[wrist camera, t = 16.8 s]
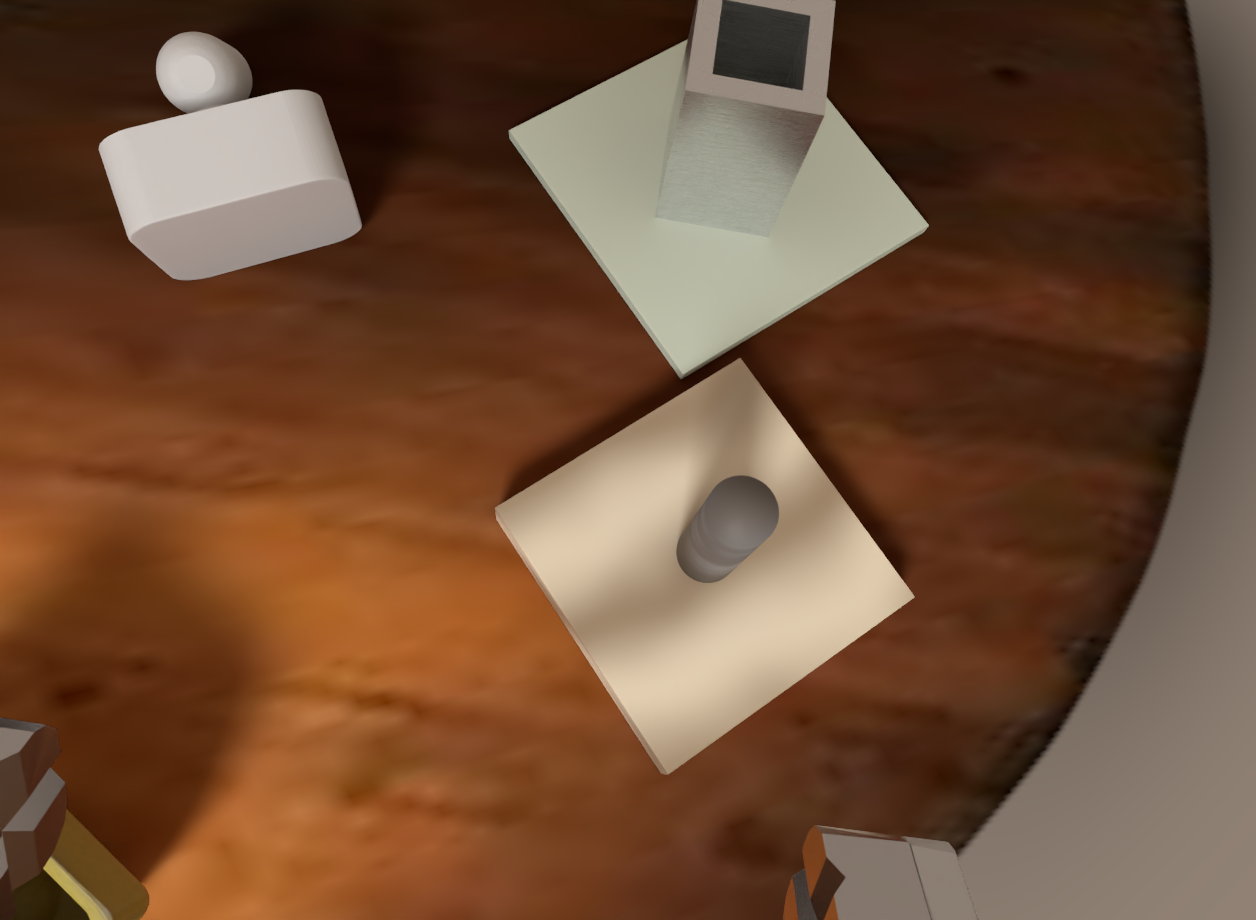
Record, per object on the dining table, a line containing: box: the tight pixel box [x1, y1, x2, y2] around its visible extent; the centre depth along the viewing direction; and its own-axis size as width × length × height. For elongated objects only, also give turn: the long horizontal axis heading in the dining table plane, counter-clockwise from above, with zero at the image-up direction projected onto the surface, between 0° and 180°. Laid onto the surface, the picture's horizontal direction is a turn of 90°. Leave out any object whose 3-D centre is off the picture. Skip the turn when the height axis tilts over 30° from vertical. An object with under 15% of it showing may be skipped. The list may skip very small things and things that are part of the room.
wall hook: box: [99, 32, 362, 280], centre depth 40 cm, size 8×10×10 cm
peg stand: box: [495, 358, 914, 774], centre depth 37 cm, size 12×12×9 cm
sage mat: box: [509, 39, 929, 379], centre depth 46 cm, size 14×14×1 cm
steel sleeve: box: [655, 0, 836, 237], centre depth 42 cm, size 5×5×9 cm
